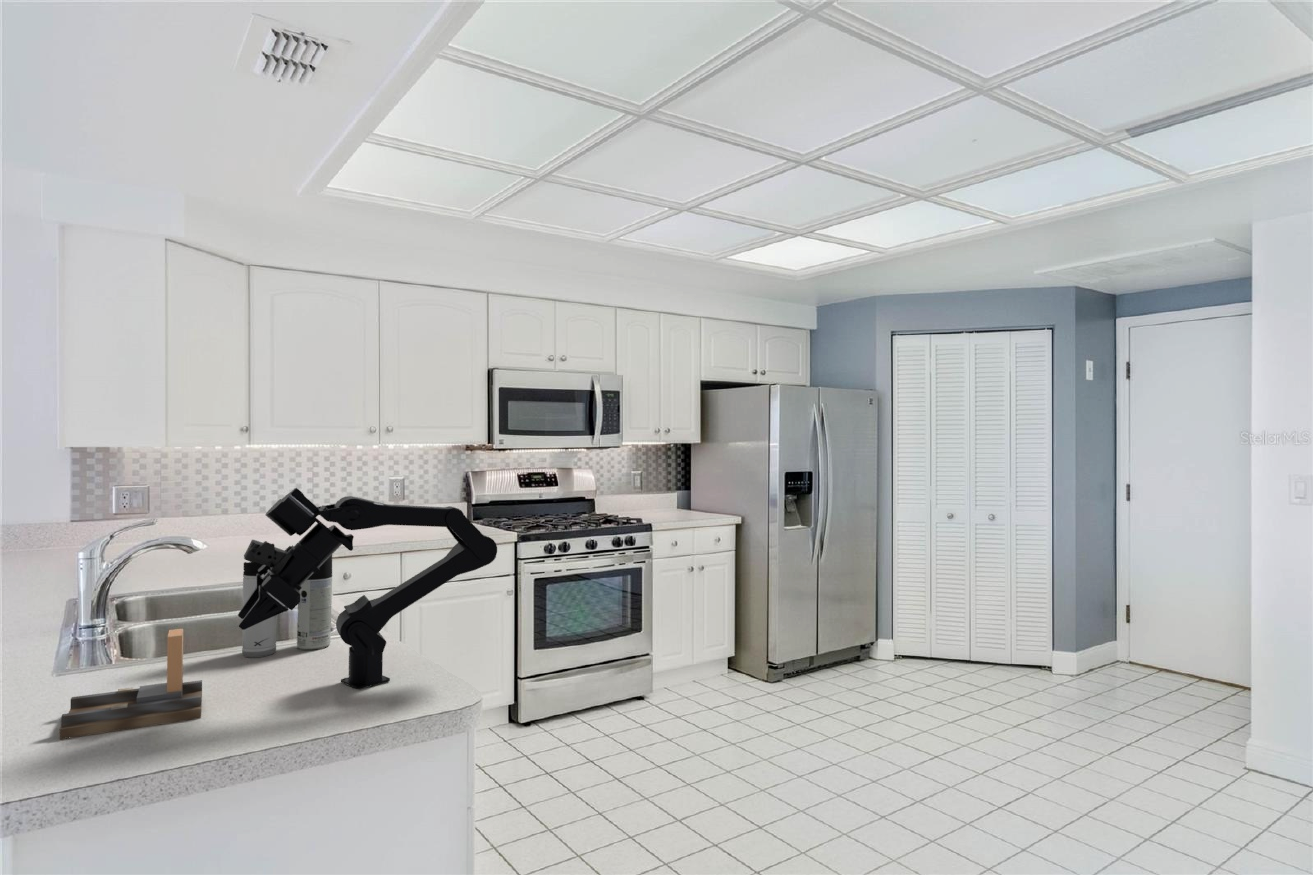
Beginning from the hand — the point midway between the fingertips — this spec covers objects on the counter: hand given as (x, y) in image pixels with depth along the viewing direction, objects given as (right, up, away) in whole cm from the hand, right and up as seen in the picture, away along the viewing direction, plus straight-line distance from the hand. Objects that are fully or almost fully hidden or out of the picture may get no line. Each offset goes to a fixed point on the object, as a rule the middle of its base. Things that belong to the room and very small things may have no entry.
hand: (240, 622), depth 129 cm
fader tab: (-10, -11, -6) cm, 16 cm away
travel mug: (-11, -13, +27) cm, 32 cm away
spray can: (-2, -13, +33) cm, 36 cm away
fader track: (-13, -13, -7) cm, 20 cm away
